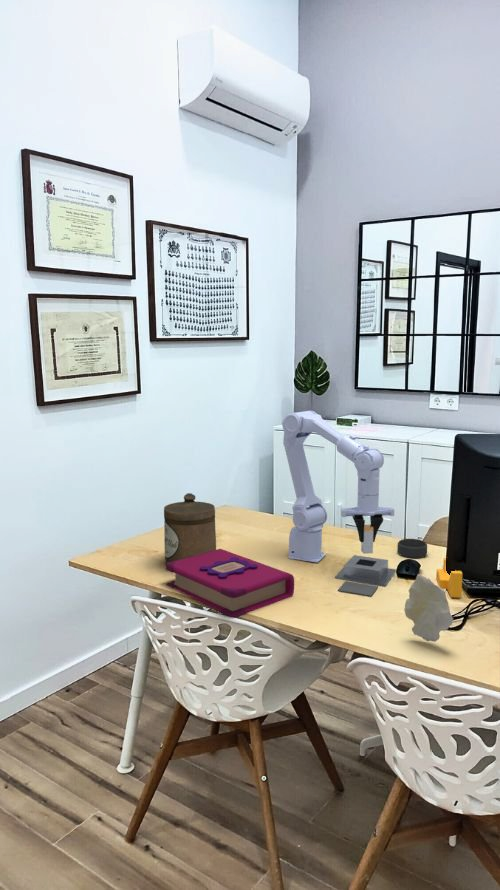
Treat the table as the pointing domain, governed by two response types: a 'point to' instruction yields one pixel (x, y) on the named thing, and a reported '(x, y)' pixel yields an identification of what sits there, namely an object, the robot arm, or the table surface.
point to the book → (230, 582)
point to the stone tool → (427, 609)
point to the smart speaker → (412, 548)
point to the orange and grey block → (367, 540)
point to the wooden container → (188, 529)
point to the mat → (358, 589)
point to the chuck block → (366, 571)
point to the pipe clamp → (450, 581)
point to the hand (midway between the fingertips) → (366, 541)
